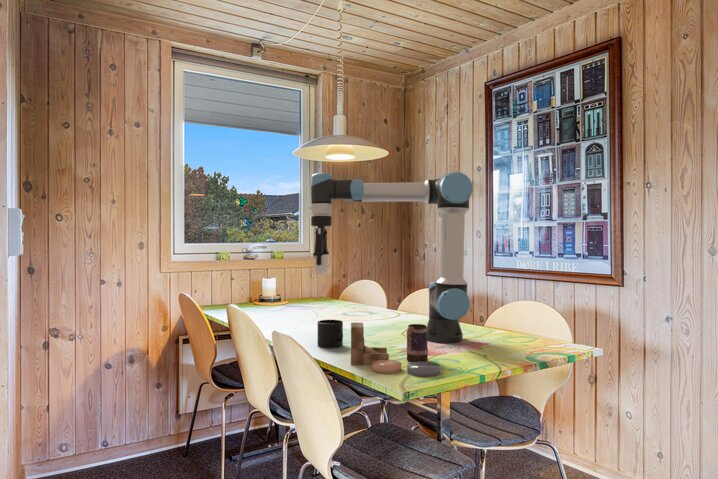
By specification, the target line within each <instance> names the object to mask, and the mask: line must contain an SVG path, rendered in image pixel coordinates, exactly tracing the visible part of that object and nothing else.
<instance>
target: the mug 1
mask: <svg viewBox="0 0 718 479" xmlns="http://www.w3.org/2000/svg"><path fill="white" fill-rule="evenodd" d="M343 327H344V322H343V321H342V320H340V319H321V320H318V321H317V346H318V347H320V348H323V349H337V348H340V347H342V346H343V344H344V343H343V342H344V340H343V337H344V334H343V333H344V332H343V330H344V328H343Z"/></svg>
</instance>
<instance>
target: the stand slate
mask: <svg viewBox="0 0 718 479" xmlns="http://www.w3.org/2000/svg"><path fill="white" fill-rule="evenodd" d="M406 370H407V371H406V373H407V374H409V375H411V376H414V377H422V378H429V377H430V378H432V377H431V376H433V377H437V376H439V374H440V375H441V365H440V364H438V363H436V362H434V361H433V362H431V361H426V362H409V363H407V365H406Z"/></svg>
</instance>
